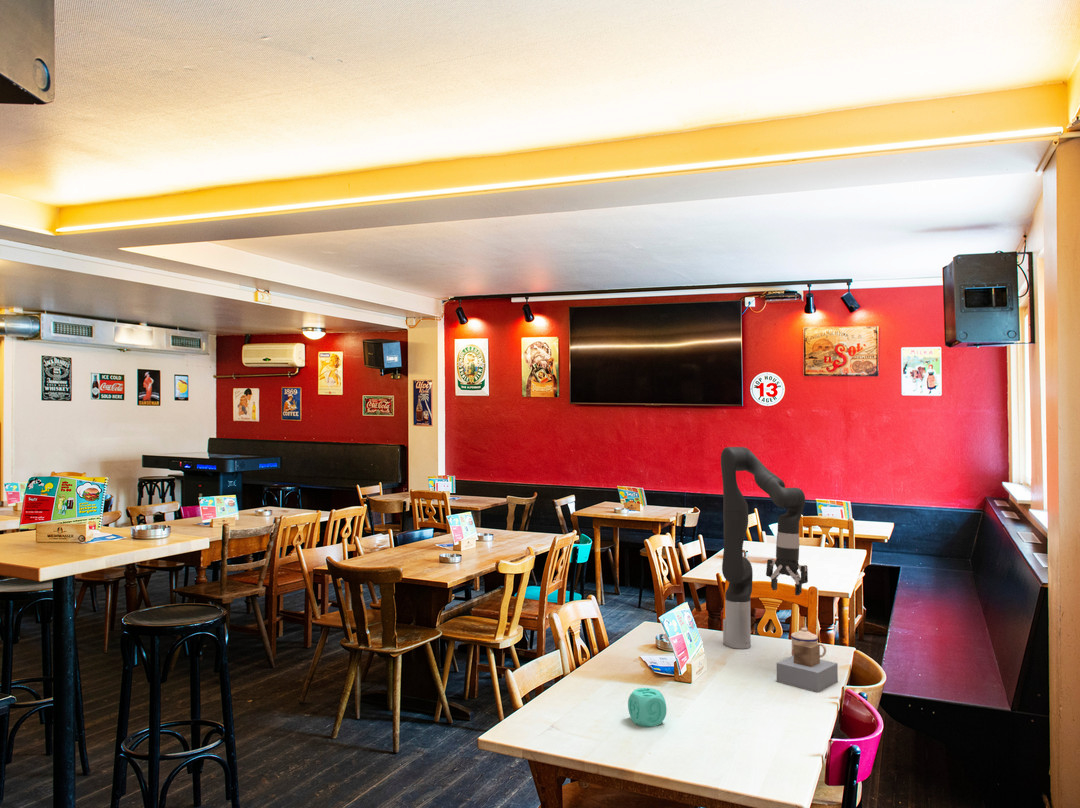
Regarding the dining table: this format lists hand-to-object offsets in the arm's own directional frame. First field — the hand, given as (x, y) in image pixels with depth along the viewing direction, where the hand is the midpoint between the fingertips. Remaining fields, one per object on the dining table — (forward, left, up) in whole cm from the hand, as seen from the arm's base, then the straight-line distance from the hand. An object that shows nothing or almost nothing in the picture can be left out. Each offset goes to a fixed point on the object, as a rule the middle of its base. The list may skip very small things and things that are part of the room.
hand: (786, 592), depth 255 cm
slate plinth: (+11, -8, -26) cm, 29 cm away
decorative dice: (-5, -73, -26) cm, 77 cm away
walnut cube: (+11, -9, -20) cm, 24 cm away
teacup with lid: (+2, +11, -26) cm, 28 cm away
